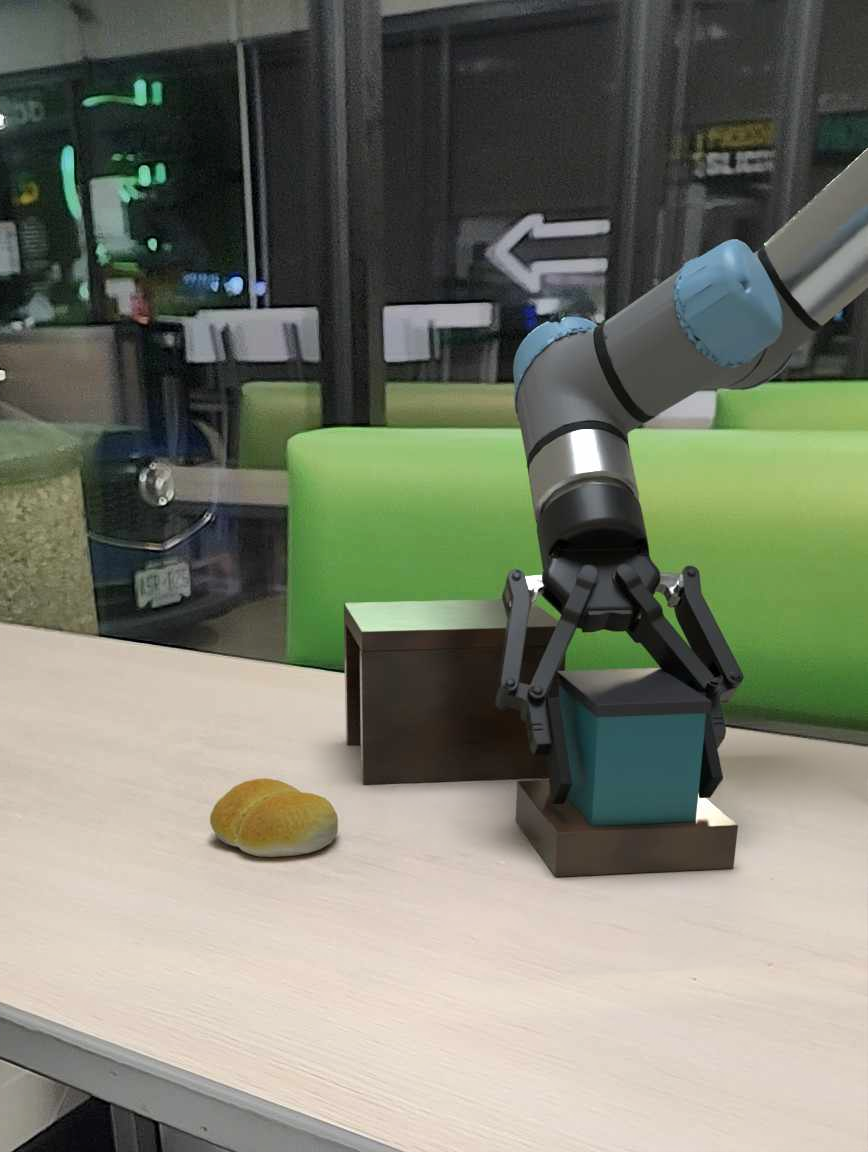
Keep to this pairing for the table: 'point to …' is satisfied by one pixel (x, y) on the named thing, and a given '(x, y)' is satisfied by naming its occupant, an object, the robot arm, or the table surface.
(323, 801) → the bread roll
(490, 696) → the top shelf
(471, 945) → the table surface
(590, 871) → the bottom shelf
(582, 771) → the box
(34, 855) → the table surface
